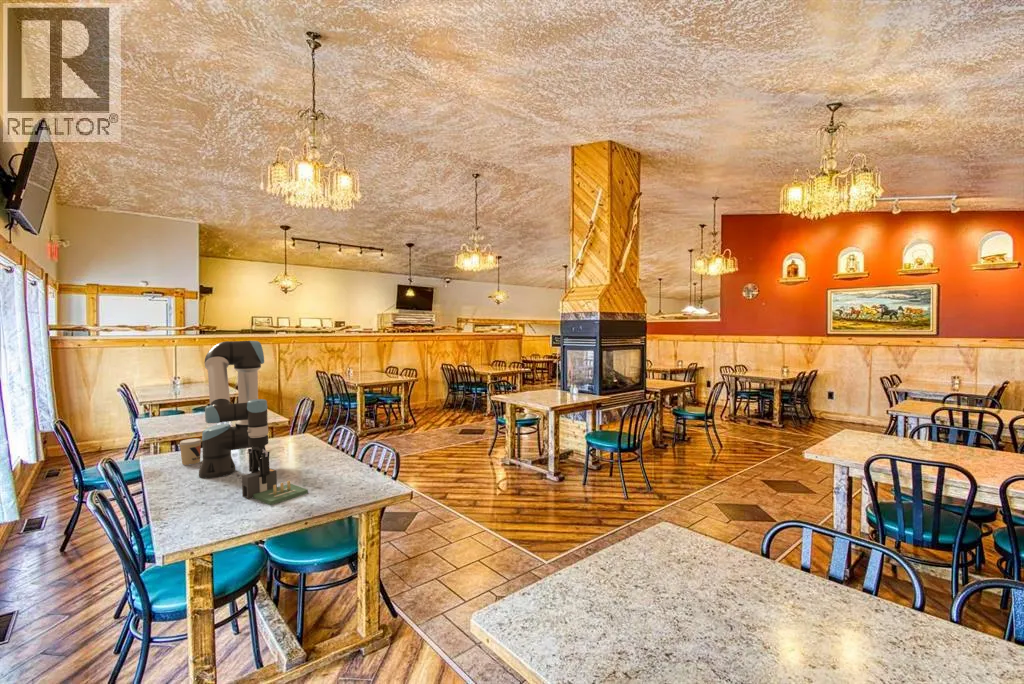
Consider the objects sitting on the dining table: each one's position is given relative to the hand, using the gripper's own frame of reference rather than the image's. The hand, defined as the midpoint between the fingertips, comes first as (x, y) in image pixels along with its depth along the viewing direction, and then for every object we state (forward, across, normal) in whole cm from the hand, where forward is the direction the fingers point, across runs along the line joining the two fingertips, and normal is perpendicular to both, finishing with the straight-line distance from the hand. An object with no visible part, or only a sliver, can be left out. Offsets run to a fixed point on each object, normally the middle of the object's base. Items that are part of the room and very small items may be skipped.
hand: (259, 489), depth 195 cm
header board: (+2, +9, +4) cm, 10 cm away
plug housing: (+2, 0, 0) cm, 2 cm away
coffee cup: (+1, -77, +2) cm, 77 cm away
